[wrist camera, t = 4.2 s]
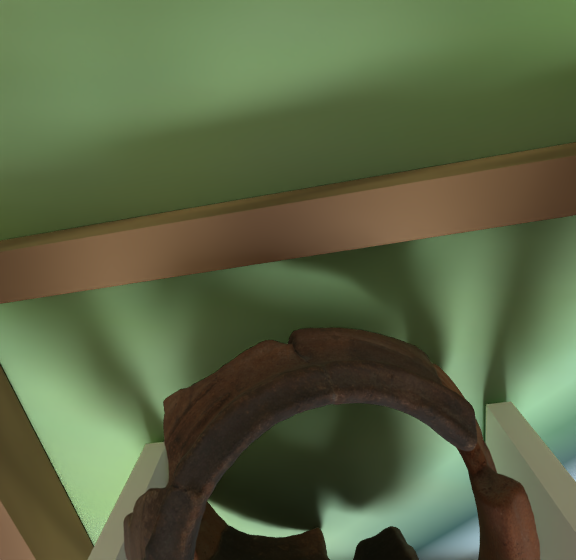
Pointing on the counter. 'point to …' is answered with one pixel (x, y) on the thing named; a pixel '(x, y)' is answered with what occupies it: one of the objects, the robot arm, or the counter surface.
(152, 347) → the counter surface
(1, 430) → the walnut frame
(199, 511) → the brown hollow round piece
